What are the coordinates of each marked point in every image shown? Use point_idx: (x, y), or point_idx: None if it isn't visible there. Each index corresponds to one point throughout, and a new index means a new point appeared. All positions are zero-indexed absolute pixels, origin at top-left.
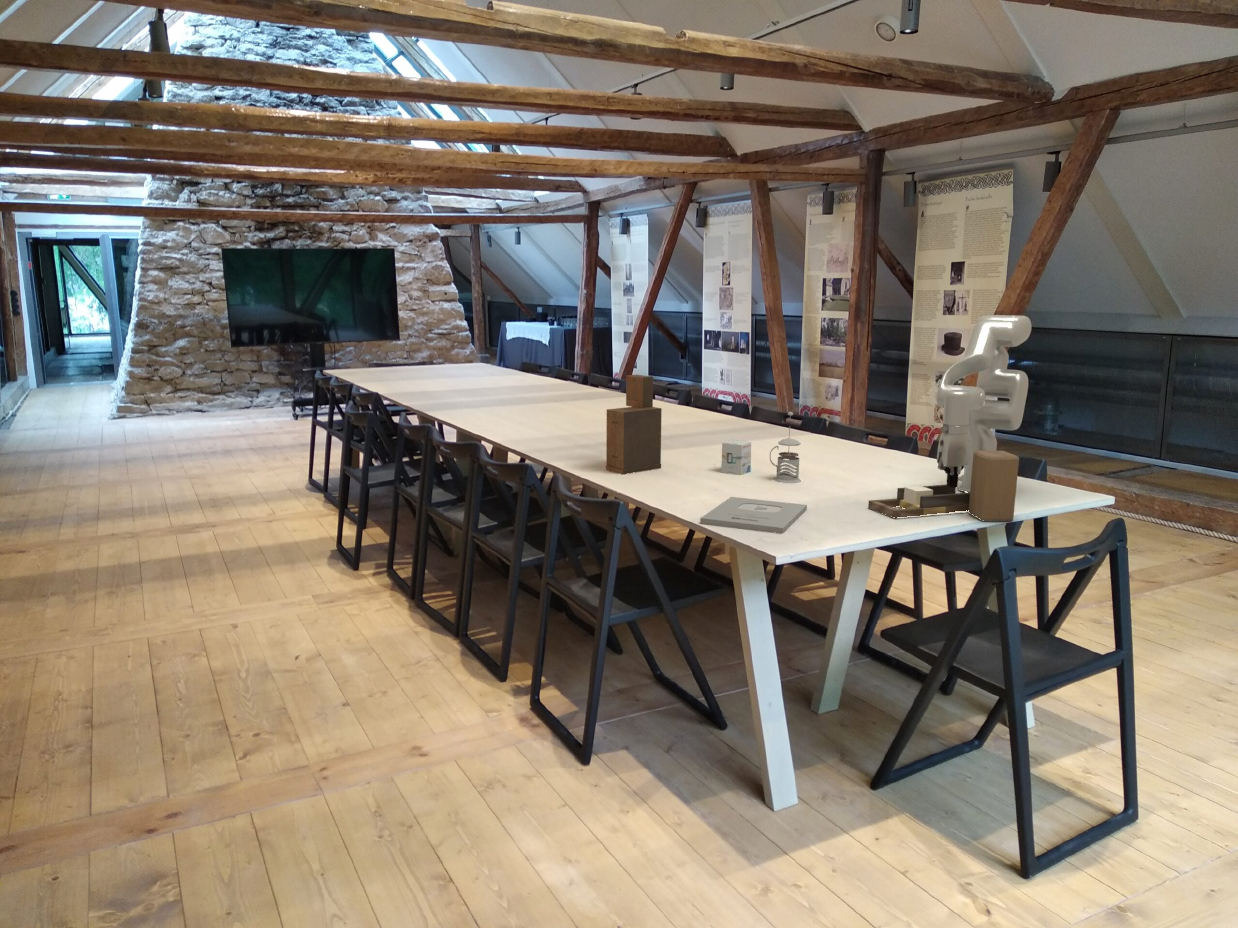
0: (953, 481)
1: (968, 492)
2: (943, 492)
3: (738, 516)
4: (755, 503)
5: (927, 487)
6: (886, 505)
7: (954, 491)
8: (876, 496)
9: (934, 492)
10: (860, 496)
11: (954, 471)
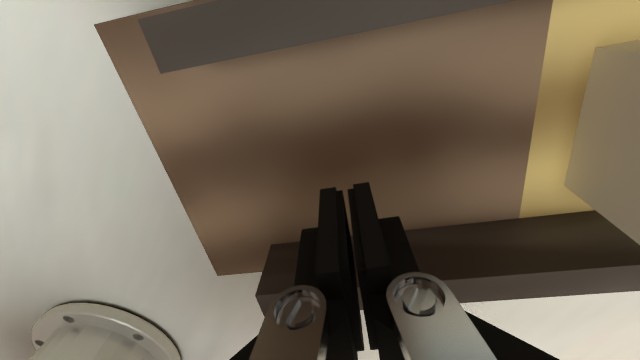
0: (376, 215)
1: (266, 50)
2: (353, 252)
3: None
4: None
5: (505, 273)
6: None
7: (272, 261)
8: (559, 346)
9: (424, 249)
10: (628, 354)
11: (338, 357)
